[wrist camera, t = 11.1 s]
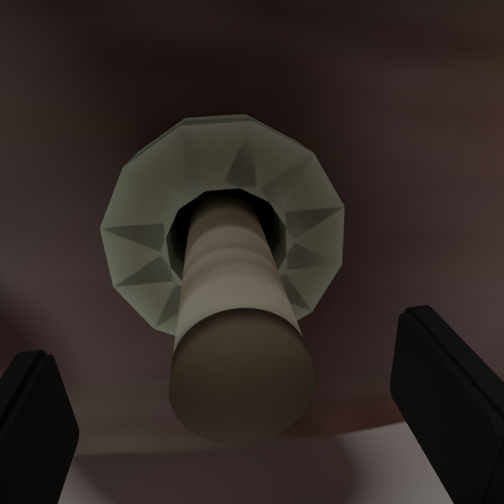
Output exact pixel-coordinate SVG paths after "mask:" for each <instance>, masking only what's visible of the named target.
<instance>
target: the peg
mask: <svg viewBox="0 0 504 504" xmlns="http://www.w3.org/2000/svg"><path fill="white" fill-rule="evenodd" d="M315 389H316V373H315V369H314V366H313V363H312V361H311V358H310V355H309V353H308V350H307V347H306V345H305V342H304V339H303V336H302V334H301V331H300V328H299V326H298V323H297V320H296V318H295V315H294V312H293V310H292V307H291V304H290V302H289V299H288V296H287V294H286V291H285V288H284V286H283V283H282V280H281V278H280V275H279V272H278V270H277V267H276V264H275V262H274V259H273V256H272V254H271V251H270V248H269V246H268V243H267V240H266V238H265V235H264V232H263V230H262V227H261V224H260V222H259V219H258V216H257V214H256V211H255V208H254V206H253V204H252V203H251V201H250V200H249V199H248V198H247V197H246V196H245V195H244V194H242V193H240V192H239V191H236V190H233V189H223V190H211V191H208V192H207V193H205V194H203V195H202V196H201V197H200V198H199V199H198V200H197V201H196V202H195V204H194V206H193V208H192V210H191V214H190V221H189V229H188V237H187V245H186V254H185V262H184V270H183V278H182V286H181V294H180V302H179V310H178V319H177V327H176V335H175V343H174V351H173V359H172V367H171V376H170V384H169V399H170V403H171V406H172V409H173V411H174V413H175V415H176V416H177V418H178V419H179V420H180V421H181V422H182V423H183V425H184V426H186V427H187V428H188V429H189V430H191V431H192V432H194V433H196V434H197V435H199V436H201V437H204V438H206V439H209V440H212V441H217V442H221V443H230V444H241V443H250V442H256V441H260V440H264V439H267V438H269V437H272V436H275V435H277V434H279V433H281V432H282V431H284V430H286V429H287V428H289V427H290V426H291V425H293V424H294V423H295V422H296V421H297V420H298V419H299V418H300V417H301V416H302V415H303V414H304V413H305V411H306V410H307V409H308V407H309V405H310V404H311V401H312V399H313V397H314V393H315Z"/></svg>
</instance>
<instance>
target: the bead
mask: <svg viewBox="0 0 504 504" xmlns="http://www.w3.org/2000/svg"><path fill="white" fill-rule="evenodd" d="M235 188H240V189H242V190H245V191H247V192H249V193H251V194H253V195H255V196H257V197H260V198H262V199H264V200H266V201H268V202H269V203H270V204H271V206H272V207H273V209H274V231H273V233H272V234H271V236H270V238H269V240H268V242H267V243H268V246H269V248H270V251H271V254H272V256H273V259H274V262H275V264H276V267H277V270H278V272H279V275H280V278H281V280H282V283H283V286H284V288H285V291H286V294H287V296H288V299H289V302H290V304H291V307H292V310H293V312H294V315H295V318H296V320H299V319H301V318H302V317H304V316H306V315H307V314H309V313H311V312H312V311H313V310H314V308H315V306H316V305H317V303H318V302H319V300H320V299H321V297H322V295H323V294H324V292H325V291H326V289H327V287H328V286H329V284H330V283H331V281H332V280H333V278H334V276H335V275H336V273H337V272H338V270H339V268H340V267H341V265H342V255H343V233H344V210H345V207H344V205H343V203H342V201H341V200H340V198H339V196H338V194H337V193H336V191H335V189H334V187H333V186H332V184H331V182H330V180H329V179H328V177H327V175H326V173H325V172H324V170H323V168H322V166H321V165H320V163H319V161H318V159H317V158H316V156H315V154H314V153H313V152H312V151H310V150H309V149H307V148H306V147H304V146H303V145H301V144H300V143H299V142H297V141H295V140H294V139H292V138H290V137H288V136H286V135H284V134H282V133H280V132H278V131H276V130H275V129H273V128H271V127H269V126H267V125H265V124H263V123H261V122H259V121H257V120H256V119H254V118H252V117H250V116H248V115H246V114H235V115H220V116H206V117H191V118H184V119H183V120H181V121H180V122H179V123H177V124H176V125H174V126H173V127H172V128H170V129H169V130H168V131H166V132H165V133H163V134H162V135H161V136H159V137H158V138H157V139H155V140H154V141H152V142H151V143H150V144H148V145H147V146H145V147H144V148H143V149H141V150H140V151H139V152H137V153H136V154H135V155H134V156H133V157H132V158H131V159H130V161H129V162H128V163H127V164H126V165H125V166H124V167H123V168H122V171H121V174H120V176H119V179H118V182H117V184H116V187H115V190H114V192H113V195H112V197H111V200H110V203H109V205H108V208H107V211H106V213H105V216H104V219H103V221H102V224H101V227H100V231H101V236H102V240H103V244H104V248H105V253H106V257H107V261H108V266H109V270H110V274H111V278H112V283H113V287H114V288H115V289H116V290H117V291H118V292H119V293H120V294H121V295H122V296H123V297H124V298H125V299H126V300H127V302H128V303H129V304H130V305H131V306H132V307H133V308H134V309H135V310H136V311H137V312H138V313H139V314H140V315H141V316H142V317H143V318H144V319H145V320H146V321H147V322H148V323H149V324H150V325H151V326H152V327H153V328H154V329H156V330H159V331H162V332H165V333H168V334H171V335H174V336H175V335H176V327H177V319H178V310H179V302H180V294H181V286H182V278H183V270H184V262H185V254H186V250H185V249H184V247H183V246H182V245H181V244H180V242H179V241H178V240H177V239H176V235H175V228H174V218H175V216H176V214H177V212H178V210H179V209H180V208H182V207H183V206H184V205H186V204H187V203H189V202H190V201H192V200H193V199H195V198H196V197H198V196H199V195H200V194H202V193H203V192H205V191H211V190H223V189H235Z"/></svg>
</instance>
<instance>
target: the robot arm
mask: <svg viewBox="0 0 504 504" xmlns="http://www.w3.org/2000/svg"><path fill="white" fill-rule="evenodd" d="M390 392H391V395H392V398H393V400H394V402H395V403H396V405H397V407H398V409H399V410H400V412H401V414H402V415H403V417H404V419H405V421H406V422H407V424H408V426H409V427H410V429H411V431H412V433H413V434H414V436H415V437H416V439H417V441H418V443H419V444H420V446H421V448H422V450H423V451H424V453H425V455H426V457H427V458H428V460H429V462H430V464H431V465H432V467H433V469H434V470H435V472H436V474H437V475H438V477H439V479H440V481H441V482H442V484H443V486H444V488H445V489H446V491H447V492H448V494H449V496H450V498H451V500H452V501H453V503H454V504H504V382H503V381H502V380H501V379H500V378H499V377H498V376H497V375H496V374H495V373H494V372H493V371H492V370H491V369H490V368H489V367H488V366H487V365H486V364H485V362H484V361H483V360H482V359H481V358H480V357H479V356H478V355H477V354H476V353H475V352H474V351H473V350H472V349H471V348H470V347H469V346H468V345H467V344H466V343H465V342H464V341H463V340H462V339H461V338H460V337H459V336H458V335H457V334H456V333H455V331H454V330H453V329H452V328H451V327H450V326H449V325H448V324H447V323H446V322H445V321H444V320H443V319H442V318H441V317H440V316H439V315H438V314H437V313H436V312H435V311H434V310H433V309H432V308H431V307H430V306H427V305H425V306H416V307H408V308H406V309H405V312H404V313H402V314H400V316H399V320H398V328H397V335H396V343H395V350H394V358H393V365H392V373H391V380H390ZM78 440H79V428H78V424H77V421H76V419H75V416H74V413H73V410H72V407H71V404H70V401H69V399H68V396H67V393H66V390H65V387H64V384H63V382H62V379H61V376H60V373H59V370H58V367H57V364H56V362H55V359H54V357H53V356H52V355H47V353H46V352H45V351H44V350H36V351H28V352H20V353H18V354H17V355H16V356H15V357H14V359H13V360H12V362H11V363H10V365H9V366H8V368H7V369H6V371H5V372H4V374H3V376H2V377H1V379H0V504H58V501H59V498H60V495H61V491H62V489H63V486H64V483H65V480H66V477H67V473H68V471H69V468H70V465H71V461H72V458H73V456H74V452H75V449H76V446H77V443H78Z"/></svg>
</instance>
